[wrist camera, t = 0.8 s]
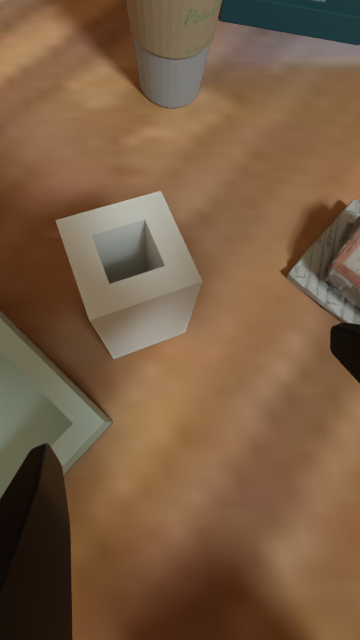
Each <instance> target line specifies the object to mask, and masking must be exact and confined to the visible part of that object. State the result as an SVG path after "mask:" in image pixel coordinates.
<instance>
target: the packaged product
mask: <svg viewBox="0 0 360 640" xmlns="http://www.w3.org/2000/svg"><path fill="white" fill-rule="evenodd" d="M286 278H287V279H288V280H289V281H290V282H291V283H293V284H294V285H295V286H296V287H297V288H298V289H300V290H301V291H302V292H304V293H305V294H306V295H308V296H309V297H310V298H312V299H313V300H314V301H316V302H317V303H318V304H320V305H321V306H323V307H324V308H325V309H326V310H328V311H329V312H330V313H331V314H332V315H333V316H335V317H336V318H337V319H339V320H340V321H341V322H342V323H343V322H347V323H353V324H360V203H359V202H358V201H357V200H353V201H352V202H351V203H350V204H349V205H348V206H347V207H346V208H345V209H344V210H343V211H342V212H341V213H340V214H339V215H338V216H337V218H336V219H335V220H334V221H333V223H332V224H331V225H330V226H329V227H328V228H327V229H326V230H325V231H324V232H323V233H322V234H321V236H320V237H319V238H318V239H317V240H316V241H315V242H314V243H313V244H312V245H311V246H310V247H309V249H308V250H307V251H306V252H305V253H304V254H303V255H302V256H301V258H300V259H299V260H298V261H297V263H296V264H295V266H294V267H293V269H292V270H291V271H290V273H289V274H288V275H287V277H286Z"/></svg>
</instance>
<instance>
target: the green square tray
mask: <svg viewBox="0 0 360 640" xmlns="http://www.w3.org/2000/svg"><path fill="white" fill-rule="evenodd" d="M112 423H113V421H112V420H111V419H110V418H109V417H108V416H107V415H106V414H104V413H103V412H102V411H101V410H100V409H99V408H98V407H97V406H96V405H95V404H94V403H93V402H92V401H91V400H90V399H89V398H88V397H87V396H86V395H85V394H84V393H83V392H82V391H81V390H80V389H79V388H78V387H77V386H76V385H75V384H74V383H73V382H72V381H71V380H70V379H69V378H68V377H67V376H66V375H65V374H64V373H63V372H62V371H61V370H60V369H59V368H58V367H57V366H56V365H55V364H54V363H53V362H52V361H51V360H50V359H49V358H48V357H47V356H46V355H45V354H44V353H43V352H42V351H41V350H40V349H39V348H38V347H37V346H36V345H35V344H34V343H33V342H32V341H31V340H30V339H29V338H28V337H27V336H25V335H24V334H23V333H22V332H21V331H20V330H19V329H18V328H17V327H16V326H15V325H14V324H13V323H12V322H11V321H10V320H9V319H8V318H7V317H6V316H5V315H4V314H3V313H2V312H1V311H0V498H1V496H2V495H3V493H4V492H5V490H6V488H7V487H8V485H9V484H10V482H11V480H12V479H13V477H14V475H15V474H16V472H17V471H18V469H19V467H20V466H21V464H22V463H23V461H24V459H25V458H26V456H27V454H28V453H29V451H30V450H31V449H32V448H34V447H36V446H39V445H41V444H44V443H48V444H49V445H50V446H51V448H52V450H53V451H54V453H55V454H56V456H57V458H58V459H59V461H60V463H61V465H62V469H63V476H64V475H65V474H66V473H67V472H68V470H69V469H70V468H71V467H72V466H73V465H74V464H75V463H76V462H77V461H78V460H79V459H80V457H81V456H82V455H83V454H84V453H85V452H86V451H87V450H88V449H89V448H90V447H91V446H92V445H93V443H94V442H95V441H96V440H97V439H98V438H99V437H100V436H101V435H102V434H103V433H104V432H105V430H106V429H107V428H108V427H109V426H110V425H111V424H112Z"/></svg>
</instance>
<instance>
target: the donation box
mask: <svg viewBox="0 0 360 640" xmlns="http://www.w3.org/2000/svg"><path fill="white" fill-rule="evenodd" d="M220 21H224V22H229V23H235V24H241V25H248V26H254V27H259V28H263V29H269V30H275V31H280V32H288V33H293V34H297V35H303V36H308V37H314V38H322V39H327V40H333V41H337V42H342V43H348V44H354V45H359V44H360V0H223V1H222V9H221V16H220Z"/></svg>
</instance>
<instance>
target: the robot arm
mask: <svg viewBox="0 0 360 640" xmlns="http://www.w3.org/2000/svg"><path fill="white" fill-rule="evenodd" d="M330 349H331V352H332V354H333V355H334V356H335V357H336V358H337V359H338V360H339V362H340V363H341V364H342V365H343V366H344V367H345V368H346V369H347V370H348V371H349V372H350V373H351V375H352V376H353V377H354V378H355V379H356V380H357V381H358V382H359V383H360V324H353V323H347V322H343V323H340V324H337V325H335V326H333V327H332V328H331V333H330ZM0 640H72V594H71V539H70V522H69V513H68V506H67V498H66V491H65V483H64V476H63V469H62V465H61V463H60V461H59V459H58V458H57V456H56V454H55V453H54V451H53V450H52V448H51V446H50V445H49V444H48V443H44V444H41V445H39V446H36V447H34V448H32V449H31V450H30V451H29V453H28V454H27V456H26V458H25V459H24V461H23V463H22V464H21V466H20V467H19V469H18V471H17V472H16V474H15V475H14V477H13V479H12V480H11V482H10V484H9V485H8V487H7V488H6V490H5V492H4V493H3V495H2V496H1V498H0Z"/></svg>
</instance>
